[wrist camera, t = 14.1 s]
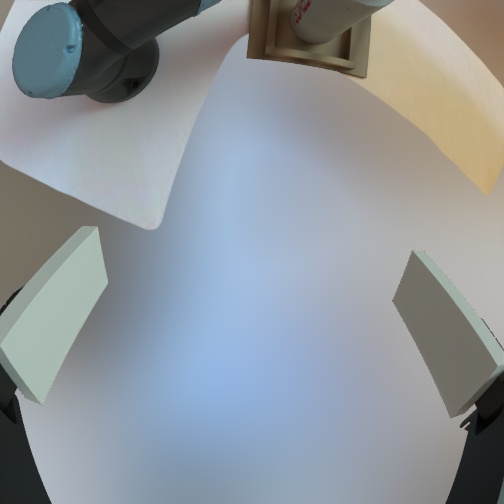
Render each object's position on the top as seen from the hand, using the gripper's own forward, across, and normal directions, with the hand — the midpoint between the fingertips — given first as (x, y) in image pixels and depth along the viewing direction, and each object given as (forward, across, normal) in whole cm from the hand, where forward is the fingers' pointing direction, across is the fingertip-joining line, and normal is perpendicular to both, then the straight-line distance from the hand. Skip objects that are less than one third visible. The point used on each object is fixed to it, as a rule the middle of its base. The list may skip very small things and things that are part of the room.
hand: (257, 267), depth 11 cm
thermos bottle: (+38, +8, +22) cm, 45 cm away
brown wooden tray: (+39, +8, +22) cm, 45 cm away
